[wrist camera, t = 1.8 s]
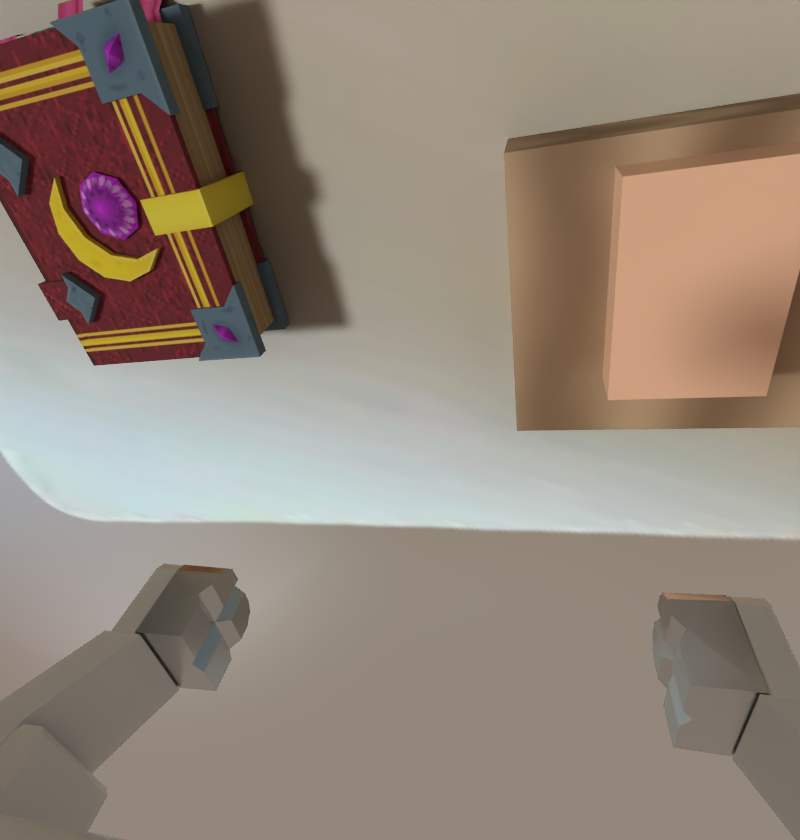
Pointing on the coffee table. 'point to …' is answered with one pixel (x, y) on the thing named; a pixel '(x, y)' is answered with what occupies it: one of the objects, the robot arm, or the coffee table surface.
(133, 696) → the robot arm
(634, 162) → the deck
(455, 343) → the coffee table surface
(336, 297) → the coffee table surface
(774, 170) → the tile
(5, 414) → the coffee table surface
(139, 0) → the decorative book
